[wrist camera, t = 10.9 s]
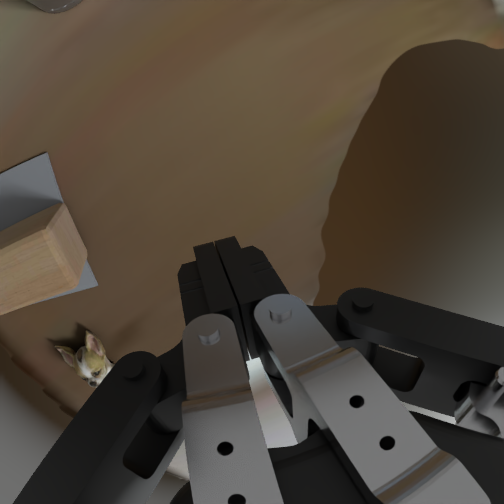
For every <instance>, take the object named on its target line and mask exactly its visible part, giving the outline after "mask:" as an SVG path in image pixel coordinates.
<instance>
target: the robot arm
mask: <svg viewBox="0 0 504 504" xmlns="http://www.w3.org/2000/svg"><path fill="white" fill-rule="evenodd" d="M27 1H28V2H30V3H32V4H33V5H35V6H37V7H38V8H40V9H42V10H43V11H45V12H48V13H60V12H63V11H67V10H69V9H71V8H73V7H74V6H76V5H77V4H79V3H80V2H81V1H82V0H27ZM214 242H215V246H214V243H213V242H210V243H206V244H202V245H198V246H195V247H193V249H194V253H195V257H196V261H193V262H190V263H186V264H182V266H181V268H180V270H179V272H178V281H179V287H180V293H181V300H182V306H183V312H184V318H185V323H186V327H185V329H184V331H183V336H182V340H181V341H180V343H179V344H178V345H177V346H175V347H174V348H173V349H171V350H170V351H168V352H166V353H164V354H162V355H161V356H159V357H156V356H154V355H153V354H151V353H149V352H145V351H137V352H132V353H129V354H127V355H125V356H124V357H122V358H121V359H120V360H118V361H117V363H116V364H115V365H114V366H113V367H112V369H111V370H110V371H109V373H108V374H107V375H106V376H105V378H104V379H103V380H102V382H101V383H100V384H99V385H98V387H97V388H96V389H95V391H94V392H93V393H92V395H91V396H90V397H89V398H88V400H87V401H86V402H85V404H84V405H83V406H82V408H81V409H80V410H79V412H78V413H77V414H76V416H75V417H74V418H73V420H72V421H71V422H70V424H69V425H68V426H67V428H66V429H65V430H64V432H63V433H62V435H61V436H60V437H59V439H58V440H57V441H56V443H55V444H54V446H53V447H52V448H51V450H50V451H49V452H48V454H47V455H46V457H45V458H44V459H43V461H42V462H41V464H40V465H39V466H38V468H37V469H36V471H35V472H34V473H33V475H32V476H31V478H30V479H29V481H28V482H27V484H26V485H25V486H24V488H23V489H22V491H21V493H20V494H19V495H18V497H17V498H16V500H15V501H14V503H13V504H146V502H147V500H148V499H149V497H150V496H151V494H152V492H153V491H154V489H155V487H156V486H157V484H158V482H159V481H160V479H161V477H162V476H163V474H164V473H165V471H166V469H167V468H168V466H169V464H170V462H171V461H172V459H173V457H174V456H175V454H176V452H177V451H178V449H179V447H180V446H181V444H182V442H183V440H184V439H185V447H186V455H187V463H188V470H189V477H190V481H189V482H188V483H186V484H185V485H184V486H183V487H182V488H181V489H180V490H179V491H178V492H177V494H176V495H175V496H174V498H173V499H172V501H171V502H170V504H504V327H502V326H499V325H495V324H492V323H488V322H485V321H481V320H477V319H474V318H470V317H467V316H463V315H460V314H456V313H452V312H449V311H445V310H442V309H439V308H435V307H431V306H428V305H424V304H421V303H418V302H414V301H410V300H407V299H404V298H400V297H396V296H393V295H390V294H386V293H383V292H379V291H376V290H372V289H368V288H354V289H350V290H348V291H346V292H344V293H343V294H342V295H341V296H340V297H339V299H338V302H337V305H326V306H309V305H306V304H305V303H304V302H303V301H302V300H301V299H300V298H298V297H296V296H293V295H290V294H289V292H288V291H287V289H286V287H285V286H284V284H283V283H282V281H281V279H280V278H279V276H278V275H277V273H276V272H275V270H274V269H273V267H272V265H271V264H270V262H269V261H268V259H267V257H266V256H265V254H264V253H263V251H261V250H259V249H258V248H256V247H254V246H249V247H245V248H242V249H241V247H240V245H239V243H238V241H237V240H236V238H235V236H232V237H229V238H225V239H221V240H217V241H214ZM379 345H383V346H385V347H389V348H392V349H395V350H398V351H401V352H404V353H407V354H411V355H414V356H417V357H418V358H415V357H410V356H407V355H404V354H401V353H398V352H394V351H392V350H388V349H385V348H382V347H379ZM247 348H248V350H247ZM248 351H249V353H250V356H251V359H254V358H258V357H260V360H261V362H262V365H263V368H264V373H265V377H266V379H267V381H268V383H269V385H270V387H271V389H272V391H273V393H274V394H275V396H276V398H277V400H278V402H279V404H280V406H281V407H282V409H283V411H284V413H285V415H286V417H287V418H288V420H289V422H290V424H291V426H292V429H293V432H294V435H295V438H296V440H297V442H298V444H297V445H294V446H288V447H279V448H268V449H267V445H266V442H265V438H264V435H263V431H262V428H261V424H260V421H259V417H258V413H257V410H256V406H255V402H254V399H253V395H252V391H251V387H250V384H249V372H248V368H247V364H246V361H248V360H250V359H249V355H248ZM401 401H402V402H405V403H409V404H412V405H415V406H418V407H422V408H425V409H428V410H431V411H435V412H438V413H441V414H445V415H449V416H452V417H455V420H456V425H454V424H451V423H448V422H444V421H441V420H438V419H435V418H432V417H429V416H426V415H423V414H420V413H417V412H413V411H408V410H407V409H406V407H405V406H404V405H403V404H402V403H401Z"/></svg>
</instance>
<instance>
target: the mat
mask: <svg viewBox="0 0 504 504" xmlns="http://www.w3.org/2000/svg"><path fill="white" fill-rule="evenodd" d="M58 203H64V202H63V199H62V196H61V194H60V191H59V188H58V185H57V182H56V179H55V176H54V172H53V169H52V166H51V163H50V159H49V156H48V152H47V153H44V154H42V155H40V156H37V157H35V158H33V159H31V160H28V161H26V162H24V163H22V164H20V165H18V166H16V167H13V168H11V169H9V170H7V171H5V172H3V173H1V174H0V231H2V230H4V229H6V228H8V227H10V226H12V225H14V224H16V223H18V222H20V221H22V220H24V219H26V218H28V217H30V216H32V215H34V214H36V213H38V212H40V211H42V210H45V209H47V208H49V207H51V206H53V205H56V204H58ZM95 286H98V283H97V281H96V279H95V277H94V274H93V272H92V270H91V268H90V266H89V264H88V261H87V259H86V261H85V264H84V267H83V271H82V274H81V277H80V280H79V284H78V285H77V286H76V287H75V288H74V289H72V290H69V291H66V292H63V293H61V294H58V295H55V296H52V297H49V298H47V299H44V300H41V301H45V300H48V299H52V298H55V297H59V296H63V295H66V294H70V293H73V292H77V291H81V290H84V289H88V288H91V287H95ZM41 301H38V302H41ZM38 302H35V303H38ZM33 304H34V303H33Z"/></svg>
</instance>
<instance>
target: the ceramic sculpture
mask: <svg viewBox="0 0 504 504" xmlns="http://www.w3.org/2000/svg"><path fill="white" fill-rule="evenodd" d="M85 332H86V335H85V346H84V347H81V348H80V349H79V350H78V351H77V353H76V352H75V351H74V350H73V349H72V348H70V347H66V346H58V345H56V346H55V348H56V349H57V350H59V352H60V353H61V355H62V357H63V358H64V360H65V362H66V363H67V364H69V366H70V367H72V368H74V369H75V371H76V373H77V374H78V375H80V377H81V378H82V379H83V380H85V381H87V382H88V384H89V385H90V386H91V387H96V388H97V387H98V385H99V384H100V383H101V382H102V380H103V379H104V378H105V376H106V375H107V374H108V373H109V371H110V370H111V369H112V367H113V366H114V365H115V363H110V361H109V360H108V359H107V358H106V352H105V349H104V346H103V344H102V343H101V341H100V339H99V338H98V337H97V336H96V335H95V334H93V333H92V332H90V331H88V330H85Z"/></svg>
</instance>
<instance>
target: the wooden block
mask: <svg viewBox="0 0 504 504" xmlns="http://www.w3.org/2000/svg"><path fill="white" fill-rule="evenodd" d="M86 258H87V250H86V248H85V246H84V244H83V242H82V239H81V237H80V235H79V233H78V231H77V229H76V227H75V225H74V222H73V220H72V218H71V216H70V213H69V211H68V209H67V206H66V205H65V204H64V203H58V204H56V205H53V206H51V207H49V208H47V209H45V210H42V211H40V212H38V213H36V214H34V215H32V216H30V217H28V218H26V219H24V220H22V221H20V222H18V223H16V224H14V225H12V226H10V227H8V228H6V229H4V230H2V231H0V315H3V314H5V313H8V312H11V311H13V310H16V309H19V308H22V307H24V306H27V305H30V304H33V303H35V302H38V301H41V300H44V299H47V298H49V297H52V296H55V295H58V294H61V293H63V292H66V291H69V290H72V289H74V288H75V287H76V286H77V285H78V284H79V280H80V277H81V274H82V271H83V267H84V264H85V261H86Z"/></svg>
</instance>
